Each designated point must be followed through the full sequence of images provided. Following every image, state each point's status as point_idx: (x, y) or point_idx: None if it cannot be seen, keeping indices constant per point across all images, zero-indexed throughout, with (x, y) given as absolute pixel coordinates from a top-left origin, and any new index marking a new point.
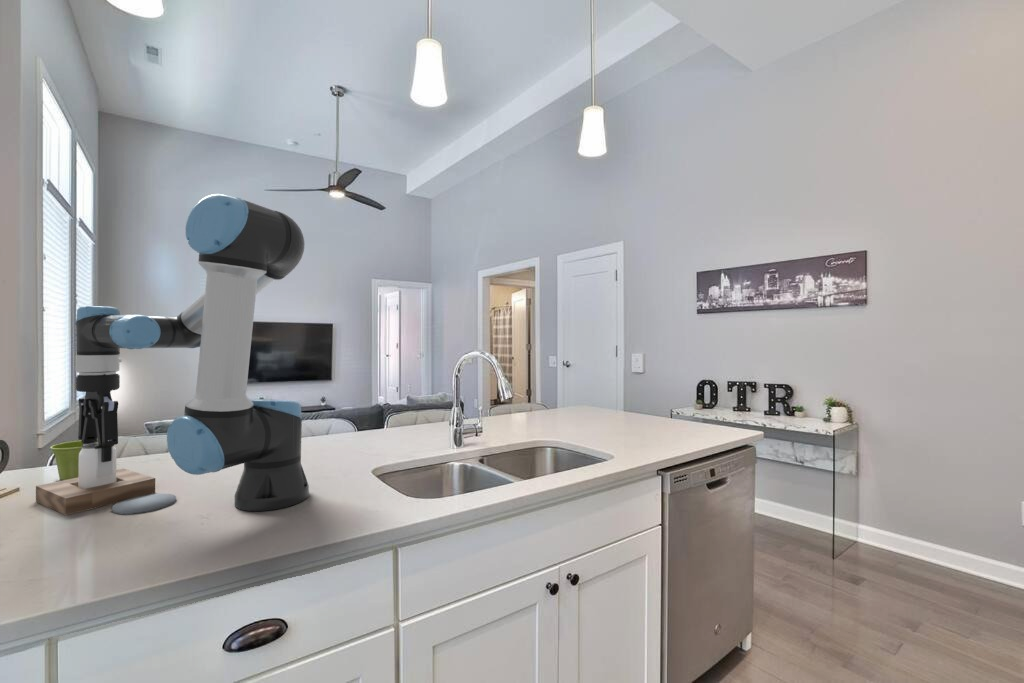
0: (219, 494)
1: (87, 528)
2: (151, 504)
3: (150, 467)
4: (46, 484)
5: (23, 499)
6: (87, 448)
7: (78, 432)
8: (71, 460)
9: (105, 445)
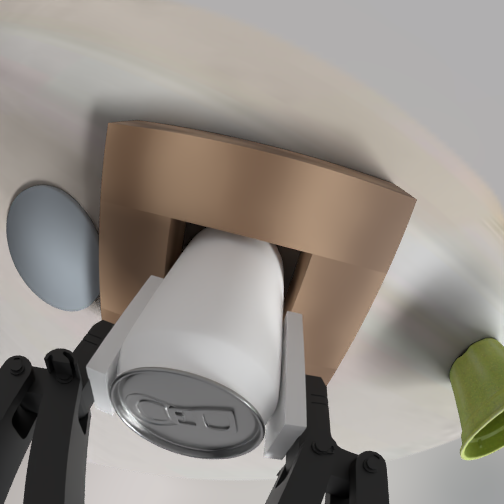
0: (21, 328)
1: (15, 104)
2: (24, 243)
3: (358, 441)
4: (395, 223)
5: (451, 193)
6: (142, 367)
7: (387, 492)
8: (487, 383)
9: (15, 359)
